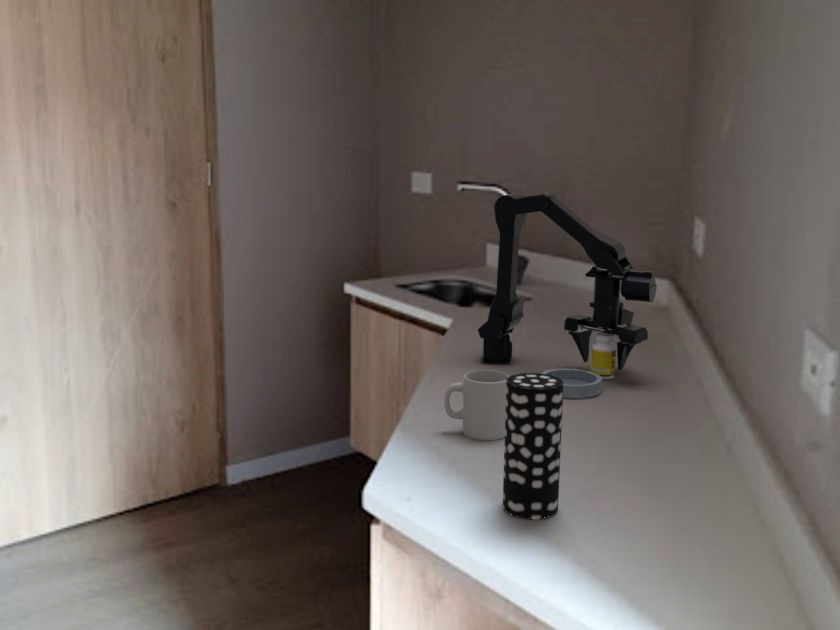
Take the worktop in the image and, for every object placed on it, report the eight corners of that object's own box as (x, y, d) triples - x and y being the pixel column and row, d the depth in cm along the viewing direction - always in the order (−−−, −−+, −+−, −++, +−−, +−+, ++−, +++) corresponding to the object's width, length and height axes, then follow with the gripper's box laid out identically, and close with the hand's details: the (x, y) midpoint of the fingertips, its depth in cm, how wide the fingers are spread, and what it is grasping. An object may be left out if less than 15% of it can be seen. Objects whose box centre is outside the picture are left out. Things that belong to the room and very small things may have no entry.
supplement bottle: (614, 380, 204) (617, 338, 202) (589, 379, 206) (592, 336, 203) (614, 374, 210) (617, 332, 208) (590, 372, 211) (592, 331, 209)
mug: (508, 425, 175) (509, 370, 173) (508, 441, 167) (510, 383, 164) (445, 423, 176) (445, 368, 173) (442, 439, 168) (443, 381, 165)
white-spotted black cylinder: (498, 497, 143) (501, 373, 138) (551, 495, 143) (556, 372, 139) (507, 520, 135) (511, 389, 130) (563, 518, 135) (569, 388, 131)
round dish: (543, 398, 191) (544, 386, 191) (535, 380, 204) (535, 368, 204) (606, 399, 191) (607, 386, 191) (594, 380, 204) (595, 368, 204)
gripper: (663, 299, 203) (658, 367, 206) (592, 287, 216) (588, 351, 219) (635, 306, 195) (631, 377, 199) (563, 293, 208) (561, 360, 211)
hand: (603, 365), depth 207 cm, fingers open, 9 cm apart
